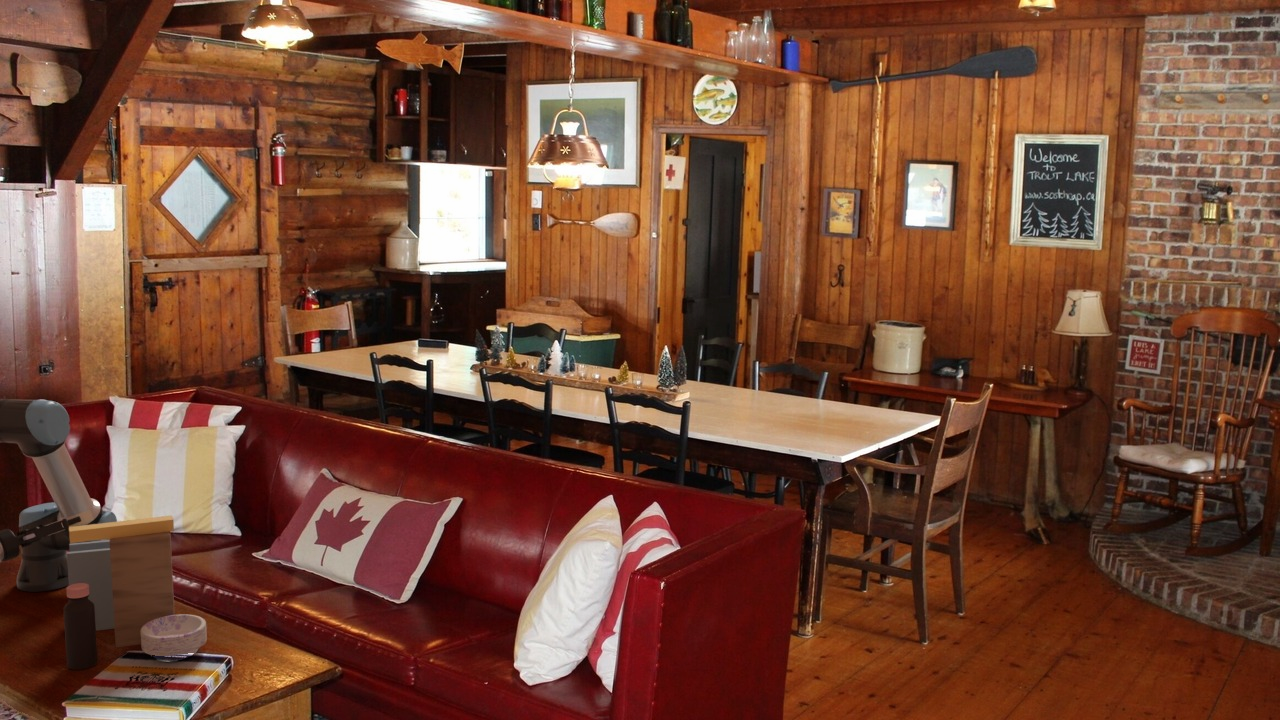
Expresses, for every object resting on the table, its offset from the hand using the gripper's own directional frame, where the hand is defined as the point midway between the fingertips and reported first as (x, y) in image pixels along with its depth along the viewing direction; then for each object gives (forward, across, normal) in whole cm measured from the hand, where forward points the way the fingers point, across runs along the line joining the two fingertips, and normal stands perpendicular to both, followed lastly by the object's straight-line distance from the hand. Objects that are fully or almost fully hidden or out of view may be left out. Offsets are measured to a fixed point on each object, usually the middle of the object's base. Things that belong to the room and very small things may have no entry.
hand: (81, 518), depth 306 cm
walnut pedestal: (+2, +7, -35) cm, 35 cm away
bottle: (-17, +12, -34) cm, 40 cm away
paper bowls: (+1, +22, -40) cm, 46 cm away
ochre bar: (+2, +15, -7) cm, 17 cm away
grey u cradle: (0, -9, -29) cm, 30 cm away
